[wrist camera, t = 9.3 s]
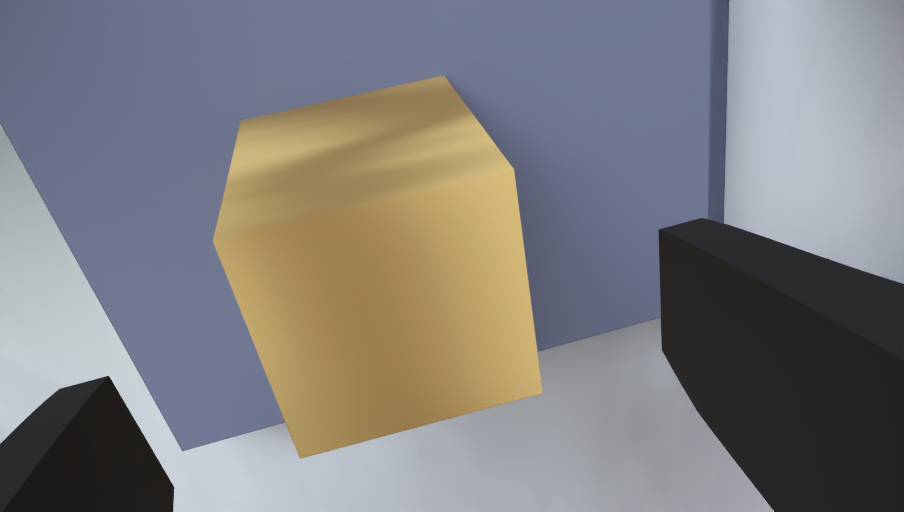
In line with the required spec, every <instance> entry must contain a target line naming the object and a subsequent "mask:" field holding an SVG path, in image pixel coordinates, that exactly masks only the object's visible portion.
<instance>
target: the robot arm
mask: <svg viewBox="0 0 904 512" xmlns="http://www.w3.org/2000/svg"><path fill="white" fill-rule="evenodd" d="M658 234H659V268H660V302H661V336H662V351H663V353H664V355H665V356H666V358H667V360H668V362H669V363H670V365H671V367H672V369H673V371H674V372H675V374H676V376H677V378H678V380H679V381H680V383H681V385H682V386H683V388H684V390H685V391H686V393H687V395H688V396H689V398H690V400H691V401H692V403H693V405H694V406H695V408H696V410H697V411H698V413H699V414H700V415H701V417H702V418H703V419H704V421H705V422H706V423H707V425H708V426H709V427H710V429H711V430H712V431H713V433H714V434H715V435H716V437H717V438H718V439H719V441H720V442H721V443H722V444H723V446H724V447H725V448H726V450H727V451H728V452H729V454H730V455H731V456H732V458H733V459H734V460H735V461H736V463H737V464H738V465H739V467H740V468H741V469H742V470H743V472H744V473H745V474H746V476H747V477H748V478H749V479H750V481H751V482H752V483H753V485H754V486H755V487H756V488H757V490H758V491H759V492H760V494H761V495H762V496H763V497H764V499H765V500H766V501H767V503H768V504H769V505H770V506H771V508H772V509H773V510H774V512H904V284H902V283H899V282H895V281H892V280H889V279H886V278H883V277H880V276H877V275H873V274H870V273H867V272H864V271H861V270H858V269H855V268H852V267H849V266H846V265H843V264H841V263H838V262H835V261H832V260H829V259H826V258H823V257H820V256H817V255H814V254H811V253H809V252H806V251H803V250H800V249H797V248H794V247H791V246H789V245H786V244H783V243H780V242H777V241H774V240H771V239H769V238H766V237H763V236H760V235H757V234H754V233H751V232H748V231H745V230H742V229H739V228H736V227H733V226H730V225H727V224H723V223H720V222H717V221H713V220H709V219H705V218H699V219H696V220H692V221H688V222H684V223H681V224H677V225H673V226H669V227H665V228H662V229H658ZM173 500H174V486H173V485H172V483H171V481H170V479H169V478H168V476H167V474H166V473H165V471H164V469H163V467H162V466H161V464H160V462H159V461H158V459H157V457H156V456H155V454H154V452H153V450H152V449H151V447H150V445H149V444H148V442H147V440H146V438H145V437H144V435H143V433H142V432H141V430H140V428H139V426H138V425H137V423H136V421H135V420H134V418H133V416H132V415H131V413H130V411H129V409H128V408H127V406H126V404H125V403H124V401H123V399H122V397H121V396H120V394H119V392H118V391H117V389H116V387H115V386H114V384H113V382H112V380H111V379H110V377H109V376H106V377H103V378H99V379H95V380H91V381H88V382H84V383H80V384H76V385H73V386H69V387H65V388H61V389H59V390H58V391H56V392H55V393H54V394H53V395H52V396H50V397H49V398H48V399H47V400H46V401H45V402H43V403H42V404H41V405H40V406H39V407H38V408H37V409H36V410H35V411H34V412H33V413H32V414H30V415H29V416H28V417H27V418H26V419H25V420H24V421H23V422H22V423H21V424H20V425H19V426H18V427H17V428H16V429H15V430H14V431H13V432H12V433H11V434H10V435H9V436H8V437H7V438H6V439H5V440H4V441H3V442H2V443H1V444H0V512H173Z"/></svg>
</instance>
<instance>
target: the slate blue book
mask: <svg viewBox="0 0 904 512" xmlns="http://www.w3.org/2000/svg"><path fill="white" fill-rule="evenodd" d="M728 21H729V0H0V124H1V125H2V127H3V129H4V131H5V133H6V134H7V136H8V138H9V140H10V142H11V143H12V145H13V147H14V149H15V151H16V152H17V154H18V156H19V158H20V160H21V161H22V163H23V165H24V167H25V169H26V170H27V172H28V174H29V176H30V178H31V179H32V181H33V183H34V185H35V187H36V188H37V190H38V192H39V194H40V196H41V197H42V199H43V201H44V203H45V205H46V206H47V208H48V210H49V212H50V214H51V215H52V217H53V219H54V221H55V223H56V225H57V226H58V228H59V230H60V232H61V234H62V235H63V237H64V239H65V241H66V243H67V244H68V246H69V248H70V250H71V252H72V253H73V255H74V257H75V259H76V261H77V262H78V264H79V266H80V268H81V270H82V271H83V273H84V275H85V277H86V279H87V280H88V282H89V284H90V286H91V288H92V289H93V291H94V293H95V295H96V297H97V298H98V300H99V302H100V304H101V306H102V307H103V309H104V311H105V313H106V315H107V316H108V318H109V320H110V322H111V324H112V325H113V327H114V329H115V331H116V333H117V334H118V336H119V338H120V340H121V342H122V343H123V345H124V347H125V349H126V351H127V352H128V354H129V356H130V358H131V360H132V361H133V363H134V365H135V367H136V369H137V370H138V372H139V374H140V376H141V378H142V379H143V381H144V383H145V385H146V387H147V388H148V390H149V392H150V394H151V396H152V397H153V399H154V401H155V403H156V405H157V406H158V408H159V410H160V412H161V414H162V415H163V417H164V419H165V421H166V423H167V424H168V426H169V428H170V430H171V432H172V433H173V435H174V437H175V439H176V441H177V442H178V444H179V446H180V448H181V450H182V451H185V450H188V449H192V448H195V447H199V446H203V445H206V444H210V443H213V442H217V441H220V440H224V439H228V438H231V437H235V436H238V435H242V434H245V433H249V432H253V431H256V430H260V429H263V428H267V427H270V426H274V425H278V424H281V423H285V420H284V418H283V415H282V413H281V410H280V408H279V405H278V403H277V400H276V398H275V395H274V393H273V390H272V388H271V385H270V383H269V380H268V378H267V375H266V373H265V370H264V368H263V365H262V363H261V360H260V358H259V355H258V353H257V350H256V348H255V345H254V343H253V340H252V338H251V335H250V333H249V330H248V328H247V325H246V323H245V320H244V318H243V315H242V313H241V310H240V308H239V305H238V303H237V300H236V298H235V295H234V293H233V290H232V288H231V285H230V283H229V280H228V278H227V275H226V273H225V270H224V268H223V265H222V263H221V260H220V258H219V255H218V253H217V251H216V248H215V246H214V243H213V238H214V234H215V229H216V225H217V221H218V216H219V212H220V208H221V204H222V199H223V195H224V191H225V186H226V182H227V178H228V173H229V169H230V165H231V161H232V156H233V152H234V148H235V143H236V139H237V135H238V130H239V126H240V122H241V120H245V119H250V118H254V117H259V116H263V115H268V114H272V113H277V112H281V111H286V110H290V109H295V108H299V107H304V106H308V105H313V104H317V103H322V102H326V101H331V100H335V99H340V98H344V97H348V96H353V95H357V94H362V93H366V92H371V91H375V90H380V89H384V88H389V87H393V86H398V85H402V84H407V83H411V82H416V81H420V80H425V79H429V78H434V77H438V76H443V75H444V76H445V77H446V79H447V80H448V81H449V83H450V84H451V85H452V87H453V88H454V89H455V91H456V92H457V93H458V95H459V96H460V97H461V99H462V100H463V101H464V103H465V104H466V105H467V107H468V108H469V109H470V111H471V112H472V114H473V115H474V116H475V118H476V119H477V120H478V122H479V123H480V124H481V126H482V127H483V128H484V130H485V131H486V132H487V134H488V135H489V136H490V138H491V139H492V140H493V142H494V143H495V144H496V146H497V147H498V149H499V150H500V151H501V153H502V154H503V155H504V157H505V158H506V159H507V161H508V162H509V163H510V165H511V166H512V167H513V169H514V173H515V181H516V189H517V196H518V204H519V212H520V220H521V228H522V235H523V243H524V251H525V259H526V267H527V275H528V282H529V290H530V298H531V306H532V314H533V321H534V329H535V337H536V345H537V352H538V351H542V350H545V349H549V348H552V347H556V346H559V345H563V344H567V343H570V342H574V341H577V340H581V339H584V338H588V337H592V336H595V335H599V334H602V333H606V332H609V331H613V330H617V329H620V328H624V327H627V326H631V325H634V324H638V323H642V322H645V321H649V320H652V319H656V318H659V317H661V302H660V268H659V234H658V229H662V228H665V227H669V226H673V225H677V224H681V223H684V222H688V221H692V220H696V219H699V218H705V219H709V220H713V221H717V222H720V223H723V224H724V189H725V147H726V105H727V63H728Z"/></svg>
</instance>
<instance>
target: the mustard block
mask: <svg viewBox="0 0 904 512" xmlns="http://www.w3.org/2000/svg"><path fill="white" fill-rule="evenodd" d="M213 243H214V246H215V248H216V251H217V253H218V255H219V258H220V260H221V263H222V265H223V268H224V270H225V273H226V275H227V278H228V280H229V283H230V285H231V288H232V290H233V293H234V295H235V298H236V300H237V303H238V305H239V308H240V310H241V313H242V315H243V318H244V320H245V323H246V325H247V328H248V330H249V333H250V335H251V338H252V340H253V343H254V345H255V348H256V350H257V353H258V355H259V358H260V360H261V363H262V365H263V368H264V370H265V373H266V375H267V378H268V380H269V383H270V385H271V388H272V390H273V393H274V395H275V398H276V400H277V403H278V405H279V408H280V410H281V413H282V415H283V418H284V420H285V423H286V425H287V427H288V430H289V432H290V435H291V437H292V440H293V442H294V445H295V447H296V450H297V452H298V455H299V457H300V459H301V458H304V457H308V456H312V455H315V454H319V453H323V452H327V451H330V450H334V449H338V448H341V447H345V446H349V445H353V444H356V443H360V442H364V441H367V440H371V439H375V438H379V437H382V436H386V435H390V434H393V433H397V432H401V431H405V430H408V429H412V428H416V427H419V426H423V425H427V424H431V423H434V422H438V421H442V420H445V419H449V418H453V417H457V416H460V415H464V414H468V413H471V412H475V411H479V410H483V409H486V408H490V407H494V406H497V405H501V404H505V403H509V402H512V401H516V400H520V399H523V398H527V397H531V396H535V395H538V394H542V393H543V392H542V384H541V376H540V368H539V360H538V353H537V345H536V337H535V329H534V321H533V314H532V306H531V298H530V290H529V282H528V275H527V267H526V259H525V251H524V243H523V235H522V228H521V220H520V212H519V204H518V196H517V189H516V181H515V173H514V169H513V167H512V166H511V165H510V163H509V162H508V161H507V159H506V158H505V157H504V155H503V154H502V153H501V151H500V150H499V149H498V147H497V146H496V144H495V143H494V142H493V140H492V139H491V138H490V136H489V135H488V134H487V132H486V131H485V130H484V128H483V127H482V126H481V124H480V123H479V122H478V120H477V119H476V118H475V116H474V115H473V114H472V112H471V111H470V109H469V108H468V107H467V105H466V104H465V103H464V101H463V100H462V99H461V97H460V96H459V95H458V93H457V92H456V91H455V89H454V88H453V87H452V85H451V84H450V83H449V81H448V80H447V79H446V77H445V76H444V75H443V76H438V77H434V78H429V79H425V80H420V81H416V82H411V83H407V84H402V85H398V86H393V87H389V88H384V89H380V90H375V91H371V92H366V93H362V94H357V95H353V96H348V97H344V98H340V99H335V100H331V101H326V102H322V103H317V104H313V105H308V106H304V107H299V108H295V109H290V110H286V111H281V112H277V113H272V114H268V115H263V116H259V117H254V118H250V119H245V120H241V122H240V126H239V130H238V135H237V139H236V143H235V148H234V152H233V156H232V161H231V165H230V169H229V173H228V178H227V182H226V186H225V191H224V195H223V199H222V204H221V208H220V212H219V216H218V221H217V225H216V229H215V234H214V238H213Z"/></svg>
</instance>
